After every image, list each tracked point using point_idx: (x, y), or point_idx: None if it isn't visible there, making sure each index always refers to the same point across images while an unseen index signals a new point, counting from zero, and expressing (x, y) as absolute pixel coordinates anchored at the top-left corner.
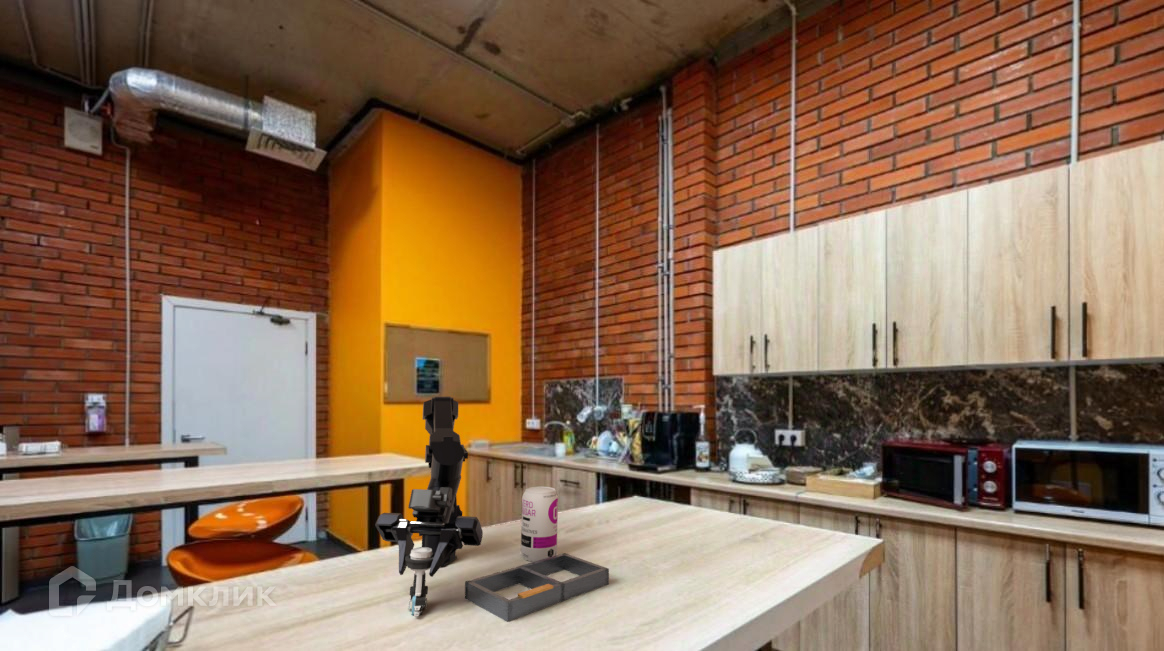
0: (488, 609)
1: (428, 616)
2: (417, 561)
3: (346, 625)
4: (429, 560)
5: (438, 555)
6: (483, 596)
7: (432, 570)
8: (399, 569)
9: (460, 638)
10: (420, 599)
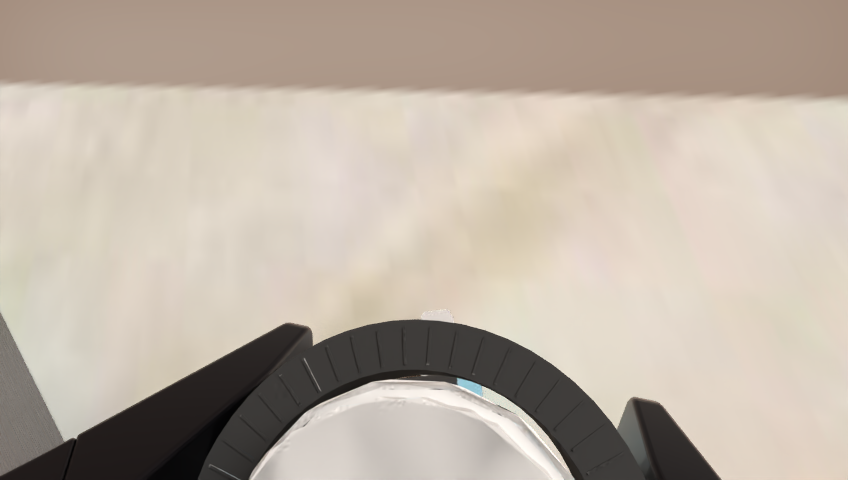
0: (37, 405)
1: None
2: (429, 325)
3: (829, 271)
4: (272, 376)
5: (122, 429)
6: (9, 459)
7: (269, 335)
8: (664, 411)
9: (207, 113)
10: (422, 378)
